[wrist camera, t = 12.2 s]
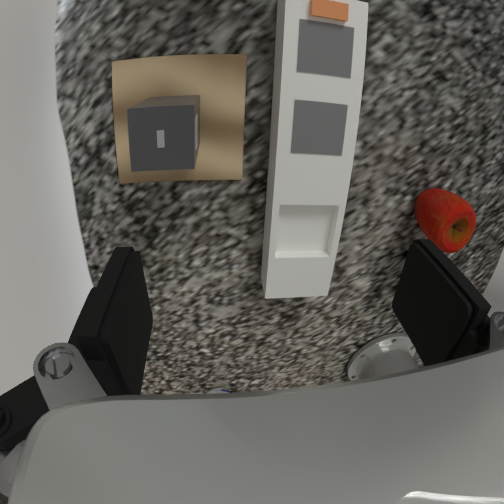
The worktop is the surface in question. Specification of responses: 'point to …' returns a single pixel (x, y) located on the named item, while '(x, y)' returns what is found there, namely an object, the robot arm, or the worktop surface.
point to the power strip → (311, 141)
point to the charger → (164, 133)
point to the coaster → (211, 110)
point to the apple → (445, 219)
